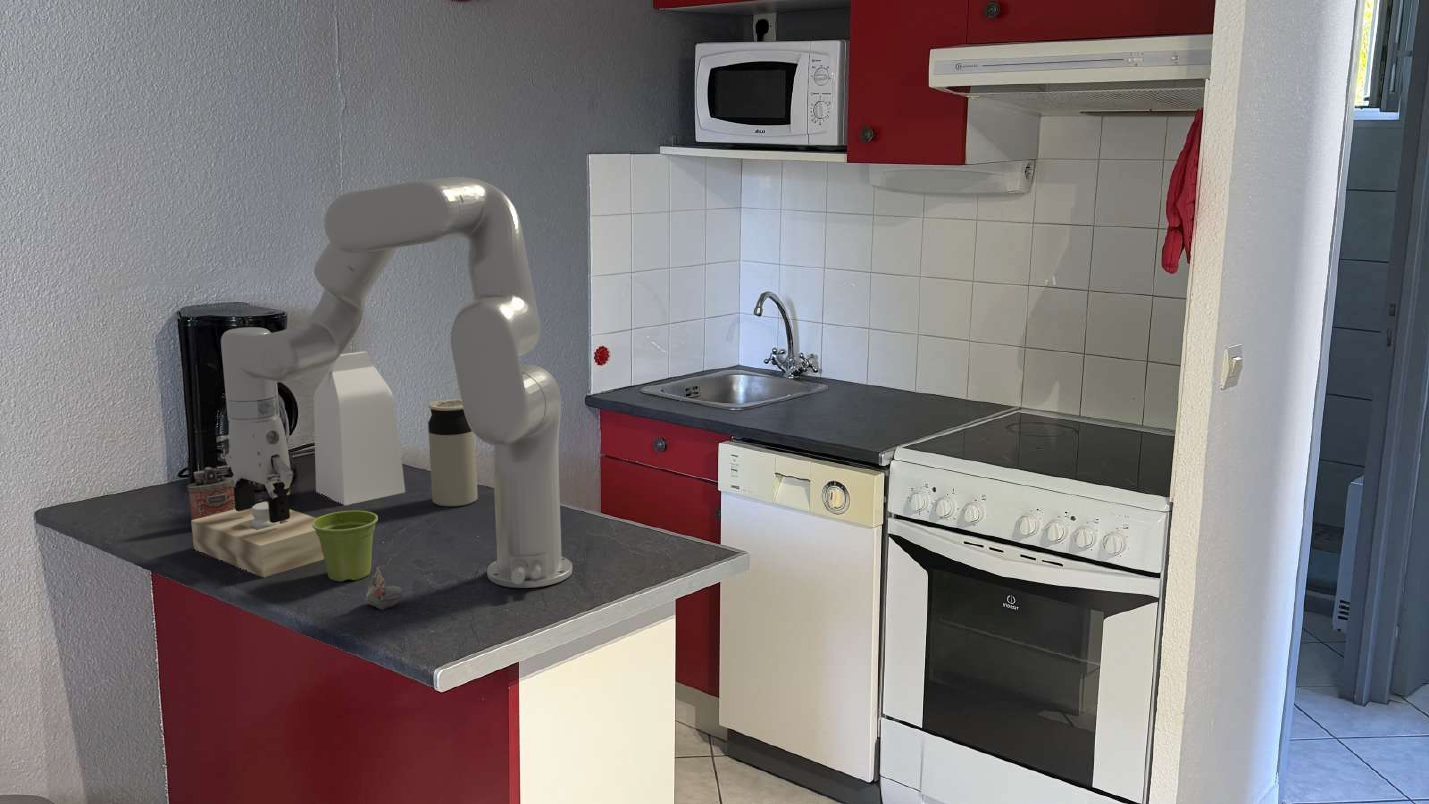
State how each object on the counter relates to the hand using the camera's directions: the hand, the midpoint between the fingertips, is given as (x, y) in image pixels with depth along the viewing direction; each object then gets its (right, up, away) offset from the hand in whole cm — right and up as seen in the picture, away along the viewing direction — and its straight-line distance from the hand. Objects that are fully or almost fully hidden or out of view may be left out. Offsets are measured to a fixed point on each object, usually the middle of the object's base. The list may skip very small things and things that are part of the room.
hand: (262, 514), depth 193 cm
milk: (+5, +1, +35) cm, 35 cm away
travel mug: (+24, 0, +29) cm, 37 cm away
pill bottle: (0, -6, +1) cm, 6 cm away
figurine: (+25, -11, -21) cm, 34 cm away
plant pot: (+16, -8, -9) cm, 20 cm away
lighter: (-14, -3, +16) cm, 21 cm away
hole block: (0, -6, +1) cm, 6 cm away
